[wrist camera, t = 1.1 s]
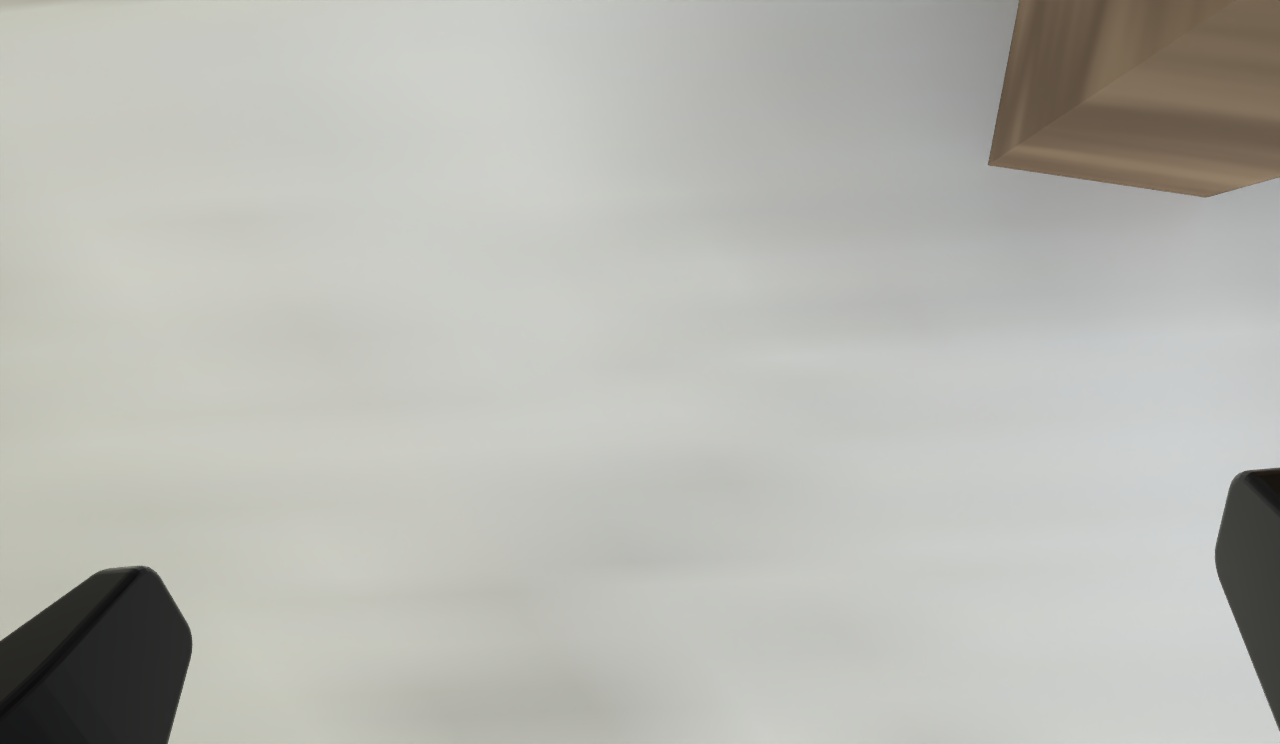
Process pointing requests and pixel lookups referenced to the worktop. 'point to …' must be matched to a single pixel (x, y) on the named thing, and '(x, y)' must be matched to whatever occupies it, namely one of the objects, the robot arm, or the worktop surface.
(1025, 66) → the walnut block
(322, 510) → the worktop surface
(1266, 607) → the robot arm
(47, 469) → the worktop surface
